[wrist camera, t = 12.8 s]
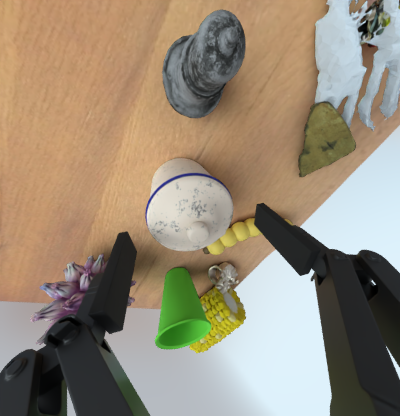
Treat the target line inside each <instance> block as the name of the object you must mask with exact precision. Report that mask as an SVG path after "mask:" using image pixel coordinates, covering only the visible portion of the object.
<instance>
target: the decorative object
mask: <svg viewBox="0 0 400 416" xmlns="http://www.w3.org/2000/svg"><path fill="white" fill-rule="evenodd" d="M351 1H352V0H328V1H327V3H326V5H329V11H328V13H327V14H326V15H325V16H324V18H323V19H322V18H321V19H320V20H318V21H317V22H316V24H315V26H316V31H315V36H316V39H315V46H316V47H315V58H316V64H317V69H318V70H319V72H320V73H319V75H318V79H317V81H318V87H317V90H316V97H315V104H316V103H319V102H323V101H328V102H330V103H331V104H332V105H333V106H334V108H335V109H336V110H337V108H338V106H339V105H340V103H341V102H342V100H343V99H344V98H345V97H346V96H348V99H347V101H346V104H345V105H344V111H343V114H342V115H341V116H342V118H343V119H344V120H345V122H346V123H347V125H348V127H349V129H350V125H351V119H352V117H353V113H354V110H355V104H356V103H357V99H358V96H359V89H360V87H361V86H362V81H363V76H364V75H365V73H366V70H367V68H366V67H364V66H363V65H362V60H363V59H362V48H361V46H360V43H361V42H366V43H369V44H372V45H374V46H377V47H378V51H377V52H376V53H375V54H373V55H374V61H373V66H374V67H373V69H372V74H371V76H370V77H369V81H368V85H367V87H366V94H365V96H363V98H362V100H361V101H360V102H359V104H358V105H357V106H358V112H359V113H360V116H359V117H360V119H361V121H362V122H363V123H364V124H365V125H366V126H367V127H370V128H371V130H372V131H374V128H375V126H373V122H372V121H371V120H370V115H371V112H370V111H371V107H372V104H373V99H374V96H375V95H376V94H377V93H378V92H379V85H380V82H381V78H382V73H383V72H384V70H385V68H388V69H389V74H388V78H387V81H386V88H385V90H384V94H383V101H382V103H383V104H382V105H381V106H380V109H381V113H382V114H384V116H385V117H387V119H388V117H390V116H392V115H393V113H394V111H395V110H396V109H397V107H398V106H397V104H398V99H399V98H398V97H399V94H400V90H399V89H400V10H399V8H398V6H399V0H384V8H383V10H384V12H385V13H387V15H388V16H389V17H390V23H389V25H388V26H386V27H382V26H381V25H380V27H379V28H378V30H380V29H382V28H384V31H383V33H382V34H380V35H376V32H377V31H378V30H377V31H375V32H374V33H373V34H374V38H372V39H371V40H370V41H361V38H360V37H361V35H362V33H363V32H360V33H359V32H358V30H357V29H358V27H359V26H361V25H362V24H364V23H365V22H366V20H365V21H364V22H363V23H360V21H361V19H362V18H363V16H365V15H366V14H371V13H372V10H370V11H369V12H368V13H365V10H366V9H367V1H366V2H365V3H364V4H363V6H362V7H361V8H363V9H362V12H361V13H359V14H358V11H359V10H358V11H357V12H356V13H355V14H354V13H353V12H352V14H351V15H350V13H349V6H350V3H351ZM356 1H357V2H356ZM355 2H356V3H355V4H357V3H358V0H355ZM353 11H354V10H353ZM358 16H359V18H358V19H357V20H355V19H356V18H357V17H358ZM369 16H370V15H369ZM353 19H354V20H353ZM367 19H368V18H367ZM385 120H386V119H385Z"/></svg>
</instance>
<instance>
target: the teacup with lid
mask: <svg viewBox="0 0 400 416" xmlns="http://www.w3.org/2000/svg"><path fill="white" fill-rule="evenodd" d="M232 216H233V202H232V197H231V195H230V192H229V191H228V189H227V188H226V186H225V185H224V184H223V183H222V182H220V181H219V180H218V179H216V178H214V177H212V176H211V175H210V174H209V173H208V172H207V171H206V170H205V169H204V168H203V167H202V166H201V165H200V164H198V163H197V162H195V161H193V160H190V159H186V158H176V159H172V160H169V161H167V162H165V163H164V164H162V165H161V166H160V167H159V168H158V169H157V171H156V172H155V174H154V176H153V179H152V186H151V194H150V199H149V201H148V204H147V207H146V223H147V226H148V229H149V231H150V233H151V234H152V236H153V237H154V238H155V239H156V240H157V241H158V242H159V243H160V244H162V245H163V246H165V247H167V248H170V249H173V250H177V251H194V250H198V249H202V248H204V247H207V246H209V245H211V244H212V243H214V242H215V241H217V240H218V239H219V238H220V237H222V236H224V235H225V233H226V230H227V229H228V227H229V225H230V223H231V220H232Z"/></svg>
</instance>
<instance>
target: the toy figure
mask: <svg viewBox="0 0 400 416" xmlns="http://www.w3.org/2000/svg"><path fill="white" fill-rule="evenodd" d="M377 6H378V7H377ZM383 8H384V0H367V9H366V10H365V13H368V12H369V11H370V10H372V13H371V14H366V15H365V16H363V18H365V20H366V22H365V23H364V24H362V25H361V26H359V27H358V29H357V30H358V32H359V33H360V32H363V33H362V35H361V37H360V38H361V41H370V40H371V39H372V38H374V34H373V33H374V32H375V31H377V30H378V28H379V27H380V25H381V26H382V27H386V26H388V25H389V23H390V17H389V16H388V15H387V13H385V12H384V10H383ZM398 8H399V10H400V0H399V6H398ZM362 9H363V8H361V9H360V10H359V12H358V14H359V13H361V12H362ZM369 15H370V16H369ZM358 18H359V16H358V17H357V18H356V19H358ZM367 18H368V19H367ZM365 20H364V21H365ZM364 21H363V22H364ZM363 22H362V23H363ZM383 31H384V28H382V29H380V30H378V31H377V32H376V35H380V34H382V33H383ZM370 38H371V39H370ZM364 43H366V42H361V43H360V45H362V44H364ZM368 46H369V47H375V46H374V45H372V44H369V43H368Z"/></svg>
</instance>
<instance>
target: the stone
mask: <svg viewBox="0 0 400 416" xmlns="http://www.w3.org/2000/svg"><path fill="white" fill-rule="evenodd" d="M310 109H311V111H310V114H309V117H308V122H307V123H306V127H305V130H304V131H305V134H306V136H305V142H304V149H303V152H302V154H301V155H300V156H299V170H300V173H299V177H304V176H306V175H307V174H310V173H311V172H314V171H315V170H317V169H320V168H322V167H324V166H327V165H330V164H332V163H333V162H335V161H337V160H338V159H340V158H341V157H344V156H346V155H348V154H349V153H351V152H352V151H354V150H355V148H356V143H355V141H354V139H353V136H352V134H351V131H350V129H349V127H348V125H347V123H346V122H345V120H344V119H343V118H342V116H341V115H340V114H339V112H338V111H337V110H336V109H335V108H334V106H333V105H332V104H331V103H330V102H328V101H323V102H319V103H316V104H314V105H312V106H311V108H310Z"/></svg>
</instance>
